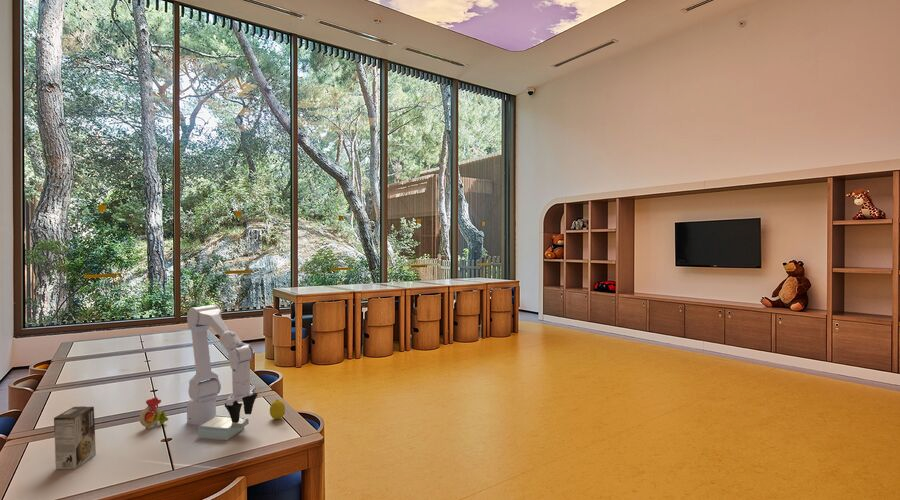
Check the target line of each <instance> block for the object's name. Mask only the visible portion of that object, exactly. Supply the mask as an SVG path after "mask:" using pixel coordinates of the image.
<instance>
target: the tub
mask: <svg viewBox="0 0 900 500" xmlns="http://www.w3.org/2000/svg"><path fill="white" fill-rule="evenodd" d="M216 417H230V415H221V414H216ZM230 418H231V417H230ZM239 418H242V419H245V417H244V416H240V417H239ZM197 428H198V429H197V430H198V431H197V434H198V435H197V436H198V439H208V440H209V439H210V440H219V441H228V440H230V439H231V438H233V437H234V436H236V435H237V434H238V433H240V432H241V431H242V430H244V429H245V426H244V427H243V428H233V427H231V428H230V429H228V428H223V427H211V426H201V425H197Z"/></svg>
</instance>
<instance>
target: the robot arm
mask: <svg viewBox="0 0 900 500" xmlns="http://www.w3.org/2000/svg"><path fill="white" fill-rule="evenodd" d="M186 320H187V327H188V328H187V329H188V330H190V331H191V339H192V348H193V358H194V365H195V366H194V367H195V374H194V375H193V377H191V378H190V380H189V381H188V384H189V386H188V396H189V398H190V399H189V400H188V401H187V405H186V422H185V424H186V425H197V426H201V425H203V424H205V423H206V422H208V421H209V420H211V419H213V418H214V417H216V415H217V402H216V400H217V399H216V398H217V397H218V394H219V393H220V392H221V390H222V384H221V382H220V378H219V375H218V374H217V373H216V372H213V370H212V366H211V357H210V348H209V340H208V339H209V338H208V329H209V328H210V327H211V328H212V330H213V331H214V332H215V333H216V334H217V335H218V336H219V337H220V338H219V343H220V344H221V345H222V347H223V348H224V349H225V351H226V352H227V353H228V355H227V357H228V358H227V359H228V361H229V363H230V369H231V370H232V371H231V372H232V373H231V374H232V375H231V377H232V385H231V386H232V387H231V388H232V392H231V394H230V396H229V397H228V398H226V400H225V401H226V402H225V403H224V407H225V409H226V411H227V412H228V414H229V416H230V417H231V420H232V423H238V422H239V417H241V416H240V413H241V410H242V406H243V411H244V415H252V411H253V408H254V403H255V402H256V398H257V397H258V396H259V395H258V392H256V390H257V389H256V388H257V387H256V386H255V385H251V362H250V361H252V360H253V358H254V349H253V348H252V345H250V344H249V343H246V342H243V341H242V340H241V338H240V337H239V336H238V334H237V333H236V332H235V331H233V330H229V328H228V326H227V325H226V323H225V322H224V321H225V320H223V318H222V310H221V308H220V307H219V306H218V305H217V304H215V303H214V304H210V305H203V306H197V307H193V306H192V307H190V308H189V310H188V312H187V313H186ZM241 399H242V403H241V402H239V401H240V400H241Z"/></svg>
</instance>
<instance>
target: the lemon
mask: <svg viewBox="0 0 900 500" xmlns="http://www.w3.org/2000/svg"><path fill="white" fill-rule="evenodd" d="M285 412H286V405H285V403H284V402H283V401H282V400H280V399H276V400H274V401H272V402H271V404H270V406H269V415H270V417H271V418H272V419H274V420H279V419H282V418H283V416H285Z"/></svg>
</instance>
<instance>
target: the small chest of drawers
mask: <svg viewBox="0 0 900 500" xmlns="http://www.w3.org/2000/svg"><path fill="white" fill-rule="evenodd" d="M249 421H250V420H249V419H248V418H244V419H242V418H239V422H238V423H232V420H231V418H230V417H214V418H213V419H211V420H209V421H208V422H206V423H205V424H203V425H200V426H211V427H223V428H228V429H230V428H231V427H233V428H243V427H244V428H245V427H246V426H248V425H249Z"/></svg>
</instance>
